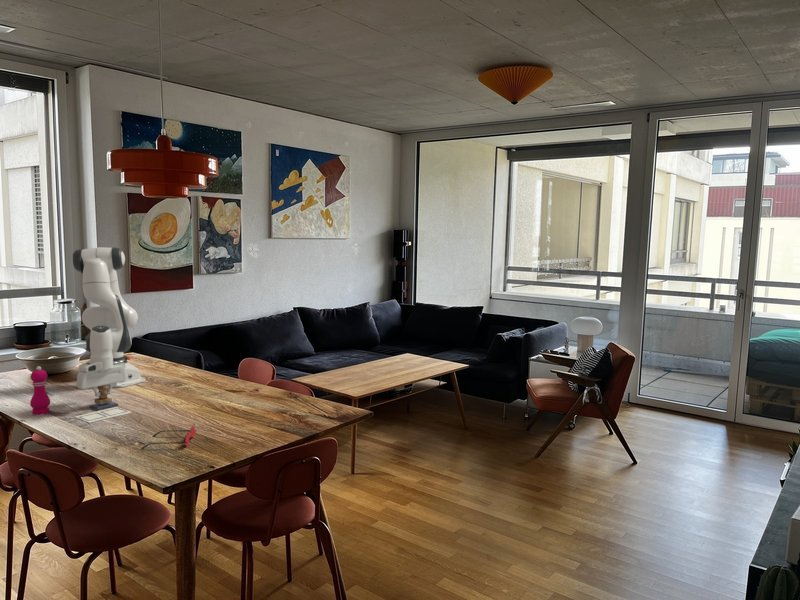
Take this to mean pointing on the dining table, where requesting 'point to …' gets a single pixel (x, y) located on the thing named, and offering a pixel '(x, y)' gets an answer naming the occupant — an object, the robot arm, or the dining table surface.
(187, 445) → the glasses
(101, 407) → the ink pad
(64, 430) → the dining table surface
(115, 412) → the print card
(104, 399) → the stamp
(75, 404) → the dining table surface
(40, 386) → the pepper mill
